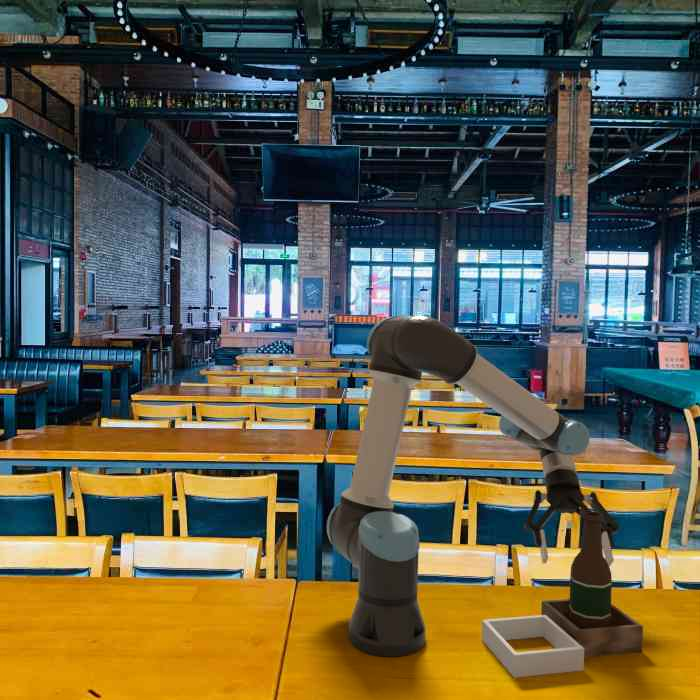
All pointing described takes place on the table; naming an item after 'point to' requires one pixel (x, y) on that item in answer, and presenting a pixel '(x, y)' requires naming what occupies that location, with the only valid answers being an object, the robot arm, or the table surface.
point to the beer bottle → (590, 579)
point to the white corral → (532, 662)
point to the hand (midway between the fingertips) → (577, 562)
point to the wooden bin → (598, 631)
